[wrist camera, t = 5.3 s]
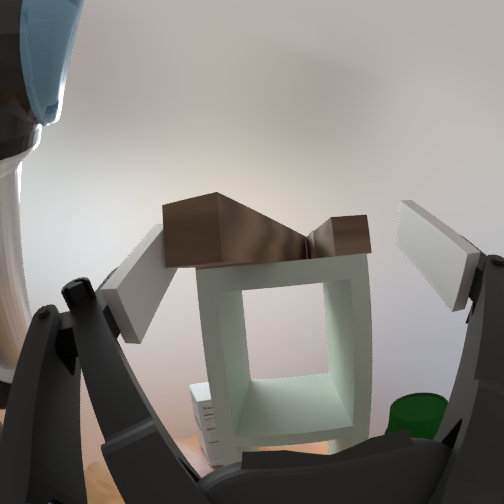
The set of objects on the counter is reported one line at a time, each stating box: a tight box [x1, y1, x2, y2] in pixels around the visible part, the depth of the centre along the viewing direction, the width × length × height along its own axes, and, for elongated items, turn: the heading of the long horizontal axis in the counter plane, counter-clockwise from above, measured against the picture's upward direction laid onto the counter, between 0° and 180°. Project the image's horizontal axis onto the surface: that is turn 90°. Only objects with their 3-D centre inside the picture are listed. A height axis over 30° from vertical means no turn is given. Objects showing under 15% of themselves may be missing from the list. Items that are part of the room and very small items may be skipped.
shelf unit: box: [196, 253, 372, 466], centre depth 27 cm, size 14×13×30 cm
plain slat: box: [162, 192, 308, 268], centre depth 26 cm, size 28×3×3 cm, turn 159°
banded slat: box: [306, 215, 371, 259], centre depth 27 cm, size 13×3×3 cm, turn 178°
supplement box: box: [189, 382, 223, 466], centre depth 38 cm, size 7×7×13 cm
